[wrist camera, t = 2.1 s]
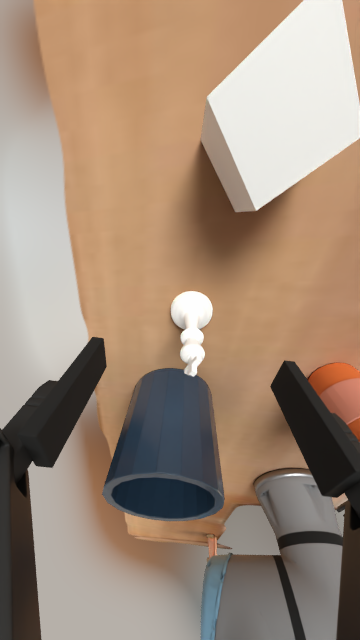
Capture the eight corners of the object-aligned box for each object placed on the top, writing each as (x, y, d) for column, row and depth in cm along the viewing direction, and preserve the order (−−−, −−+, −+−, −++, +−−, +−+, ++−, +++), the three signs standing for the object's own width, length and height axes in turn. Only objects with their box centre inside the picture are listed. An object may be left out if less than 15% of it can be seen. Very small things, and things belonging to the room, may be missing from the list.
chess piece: (163, 316, 22) (146, 380, 14) (184, 282, 20) (181, 333, 11) (197, 334, 23) (201, 404, 15) (221, 304, 21) (242, 366, 13)
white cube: (303, 162, 15) (365, 134, 10) (235, 212, 17) (256, 211, 12) (275, 69, 12) (337, -34, 7) (200, 139, 14) (206, 97, 9)
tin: (203, 422, 33) (210, 525, 22) (134, 414, 32) (106, 514, 22) (219, 373, 27) (240, 482, 16) (134, 363, 26) (95, 466, 16)
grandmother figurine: (221, 537, 66) (227, 602, 55) (212, 539, 68) (216, 602, 57) (209, 531, 63) (213, 598, 52) (200, 533, 65) (202, 598, 54)
